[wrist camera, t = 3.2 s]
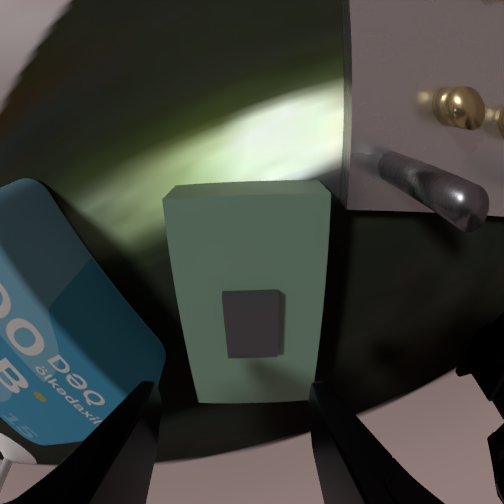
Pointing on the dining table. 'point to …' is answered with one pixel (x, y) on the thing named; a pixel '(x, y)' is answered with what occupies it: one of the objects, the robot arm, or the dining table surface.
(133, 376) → the data package
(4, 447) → the champagne flute
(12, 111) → the dining table surface
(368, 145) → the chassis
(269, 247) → the board
